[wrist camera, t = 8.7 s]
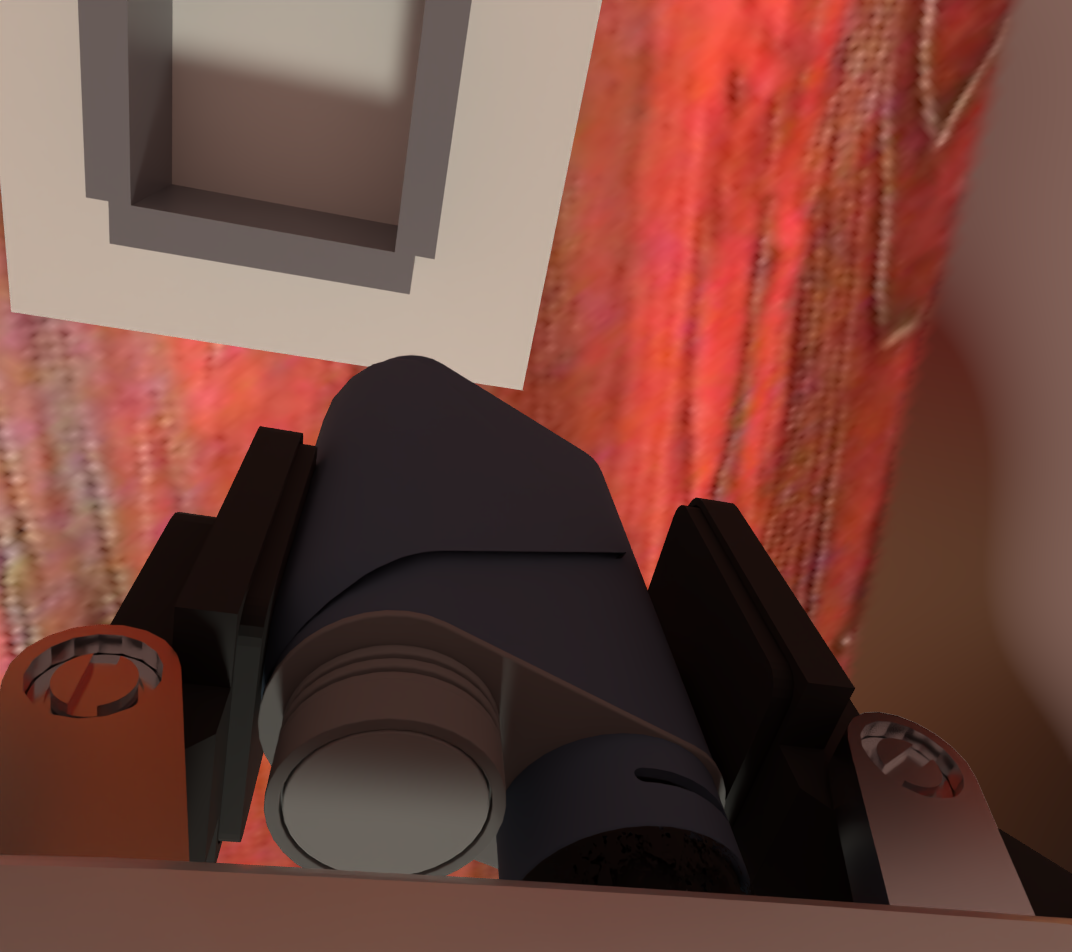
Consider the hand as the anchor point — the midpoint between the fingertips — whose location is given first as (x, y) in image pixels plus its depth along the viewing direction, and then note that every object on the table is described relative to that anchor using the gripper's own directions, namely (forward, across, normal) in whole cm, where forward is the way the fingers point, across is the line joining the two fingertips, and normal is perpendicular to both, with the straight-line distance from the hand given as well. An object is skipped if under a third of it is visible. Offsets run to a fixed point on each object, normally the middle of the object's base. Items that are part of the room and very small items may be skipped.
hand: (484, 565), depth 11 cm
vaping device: (+4, 0, 0) cm, 4 cm away
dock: (+21, +6, -4) cm, 22 cm away
